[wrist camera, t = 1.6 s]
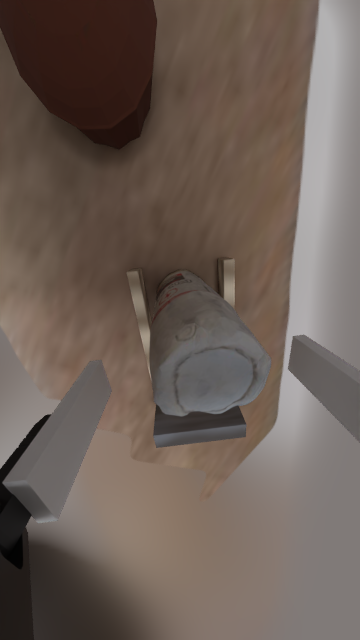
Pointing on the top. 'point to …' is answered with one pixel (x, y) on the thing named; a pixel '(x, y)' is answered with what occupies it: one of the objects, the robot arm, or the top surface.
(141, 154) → the top surface
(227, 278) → the track
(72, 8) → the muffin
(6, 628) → the robot arm
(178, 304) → the grey cylinder
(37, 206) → the top surface
